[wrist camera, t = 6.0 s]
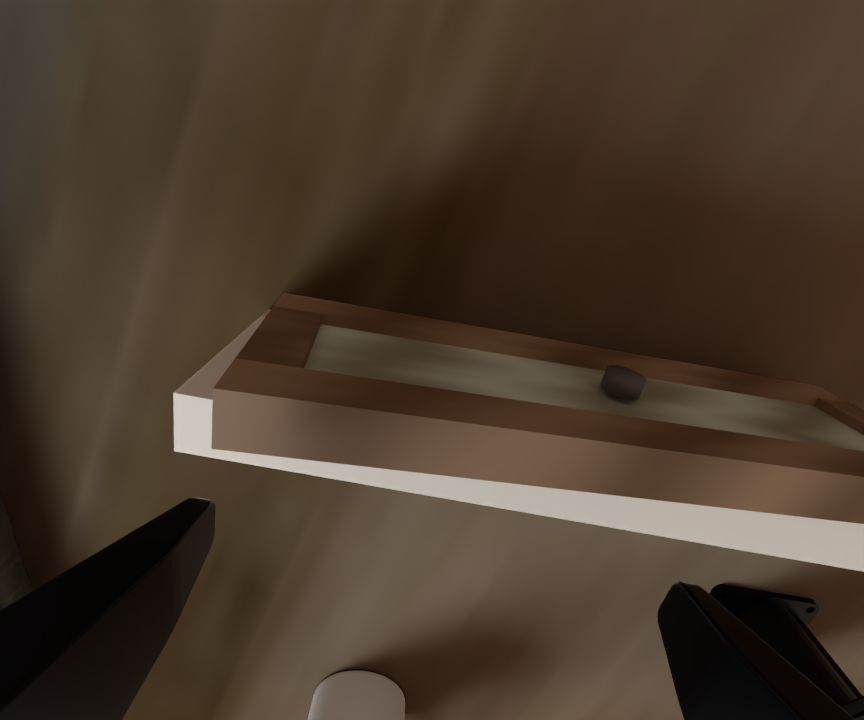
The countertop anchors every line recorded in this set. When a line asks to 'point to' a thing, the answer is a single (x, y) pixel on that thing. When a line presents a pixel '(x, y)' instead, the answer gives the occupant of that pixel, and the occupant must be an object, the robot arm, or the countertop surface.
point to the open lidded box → (10, 564)
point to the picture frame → (534, 413)
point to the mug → (357, 698)
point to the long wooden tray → (539, 491)
